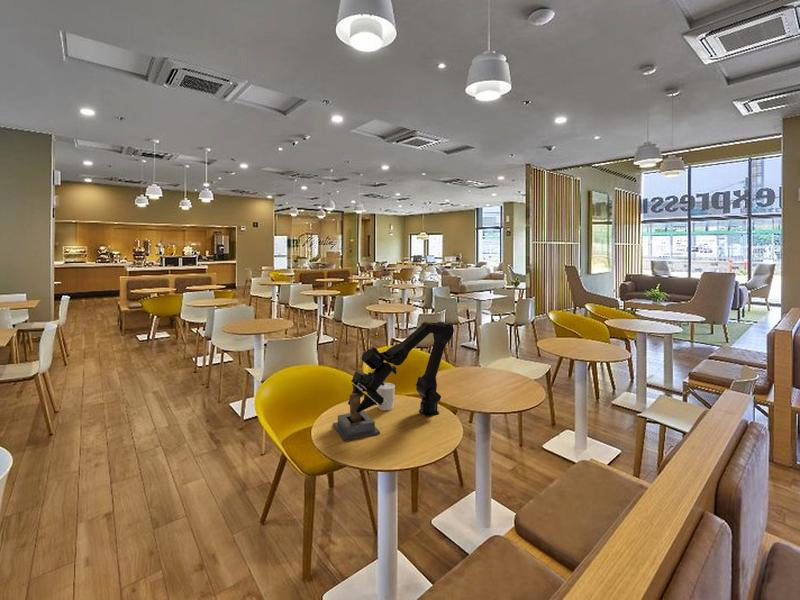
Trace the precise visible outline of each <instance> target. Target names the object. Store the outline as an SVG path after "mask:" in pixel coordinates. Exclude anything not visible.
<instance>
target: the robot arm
mask: <svg viewBox="0 0 800 600" xmlns="http://www.w3.org/2000/svg"><path fill="white" fill-rule="evenodd" d="M454 332H455V328H454V326H453V325H452V324H450V323H447V322H444V321H442V320H441V321H438V322H432V321H431V322H428V321H424V322H422V323H421V324H420V325H419V326H418V328H416V329H415V330H414V331H413V332H412V333H410V334H409V335H408V337H406V338H405V339H404V340H403V341H401V342H400V343H397V344H394V345H392V346H391V347H390V348H387V350H385V351H383V352H379V350H378V349H377V348H376V347H375V346H373V347H371V348H370V349H368V350H366V351H364V352H363V354H362V355H361V357H360V358H361V361H362V362H363V363H364V364H365V365H367V366H368V368H370V369H371V370H373V371H372V372H368V373H364V372H362V371H361V372H360V371H358V370H355V372H354V373H353V377H352V380H350V381H351V383H352V384H351V385H352V392H351V394H352V393H359V394H360V398H361V397H363V400H362V401H360V405H359V407H358V408H357V410H356V412H357V413H359V412H361V411H365V410H367V409H369V408H371V407H374V406H378V404H379V405H381V404H382V403H383V402H384V398H383V397H382V396H381V395H380V394H378V392H377V389H378V388H379V387H380V386H381V385H382V386H384V383H385V381H386V380H387V378H388V377H390V374H391V373H392V374H393V375H397V367H398V366H401V365H402V364H403V363H404V362H405V360H407V358H408V356H409V353H410V352H411V351H412V350H413V349H414V348H415V347H416V346H417V345H418V344H420V343H421V342H422V341H424V340H425V339H426V337H428V335H430V334H432V336H433V344H432V348H431V351H430V355H429V358H428V361H427V364H426V368H425V371H424V374H423V375H422V376H418V377H417V381H416V383H415V386H416V392H417V393H418V395H419V397H421V401H420V403H419V404H420V408H419V410H418V411H419V412H420V413H422V414H423V415H424V416H426V417H430V416H435V415H439V414H440V412H439V410H438V406H439V402H440V401H441V398H442V396H441V394H440V393H439V392H437V388H438V384H437V383H438V382H437V374H438V371H439V368H440V366H441V365H440V364H441V361H442V357H443V355H444V351H445V347H446V345H447V344H448V343H449V342H450V341H451V339H452V337H453V335H454ZM391 364H392V365H391ZM396 366H397V367H396ZM364 392H365V393H364ZM347 405H349V406H350V398H349V400H348V402H347Z"/></svg>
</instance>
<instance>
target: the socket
mask: <svg viewBox="0 0 800 600" xmlns="http://www.w3.org/2000/svg"><path fill="white" fill-rule="evenodd" d="M332 426H334V427H333V428H334V429H335V431H336V432H337V434H339V436H340V438H341V439H342V440H343V442H344V441H346V442H349V441H354V440H359V439H363V438H369V437H373V436H376V435H381V431H380V430H379V429H378V428H377V427H376V422H375V421H374V419H373V418H372V417H370V415H369V414H368V413H367V412H366V411H365V410H363V411H361V422H356V423H351V421H350V412H349V413H344V414H337V422H332Z"/></svg>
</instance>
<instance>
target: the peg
mask: <svg viewBox="0 0 800 600" xmlns="http://www.w3.org/2000/svg"><path fill="white" fill-rule="evenodd" d="M349 399H350V405H349V413H350V421H351V423H356V422H361V412H359V413H357V412H356V410H357V408H358V407H359V405H360V404H361V397H360V394H359V393H352V392H351V393H350V394H349Z"/></svg>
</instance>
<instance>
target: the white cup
mask: <svg viewBox="0 0 800 600" xmlns="http://www.w3.org/2000/svg"><path fill="white" fill-rule="evenodd" d="M383 383H384V386H382V385H381V386H380V387H379V388H378V389H377V392H378V394H380V395H381V396H382V397H383V398H384V402H383V403H382V404H381V405H379V404H378V403H377V409H378V408H379V409H378V410H380V409H381V410H380V411H383V410H388V411H392V410H393V409H394V402H395V394H396V393H395V388H396V385H395V384H394V383H391V382H383ZM392 408H393V409H392Z"/></svg>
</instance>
